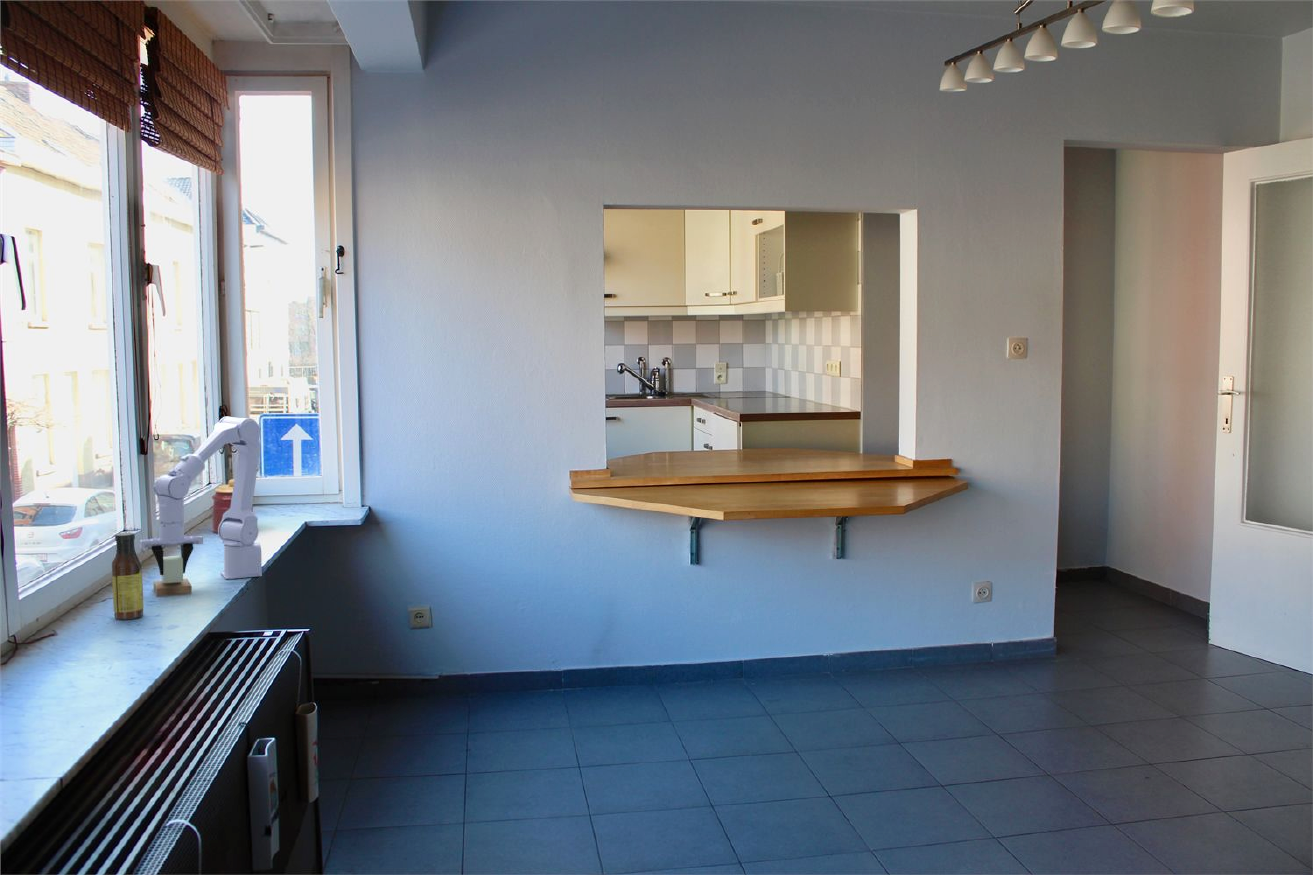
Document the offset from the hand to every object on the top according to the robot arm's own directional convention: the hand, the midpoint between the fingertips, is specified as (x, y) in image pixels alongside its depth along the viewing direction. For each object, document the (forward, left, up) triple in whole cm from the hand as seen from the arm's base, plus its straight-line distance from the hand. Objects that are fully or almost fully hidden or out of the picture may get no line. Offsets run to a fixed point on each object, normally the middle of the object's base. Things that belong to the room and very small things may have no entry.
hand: (172, 573), depth 260 cm
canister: (-28, -78, -5) cm, 83 cm away
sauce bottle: (+12, +21, -5) cm, 25 cm away
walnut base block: (0, 0, -5) cm, 5 cm away
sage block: (0, 0, -2) cm, 2 cm away
